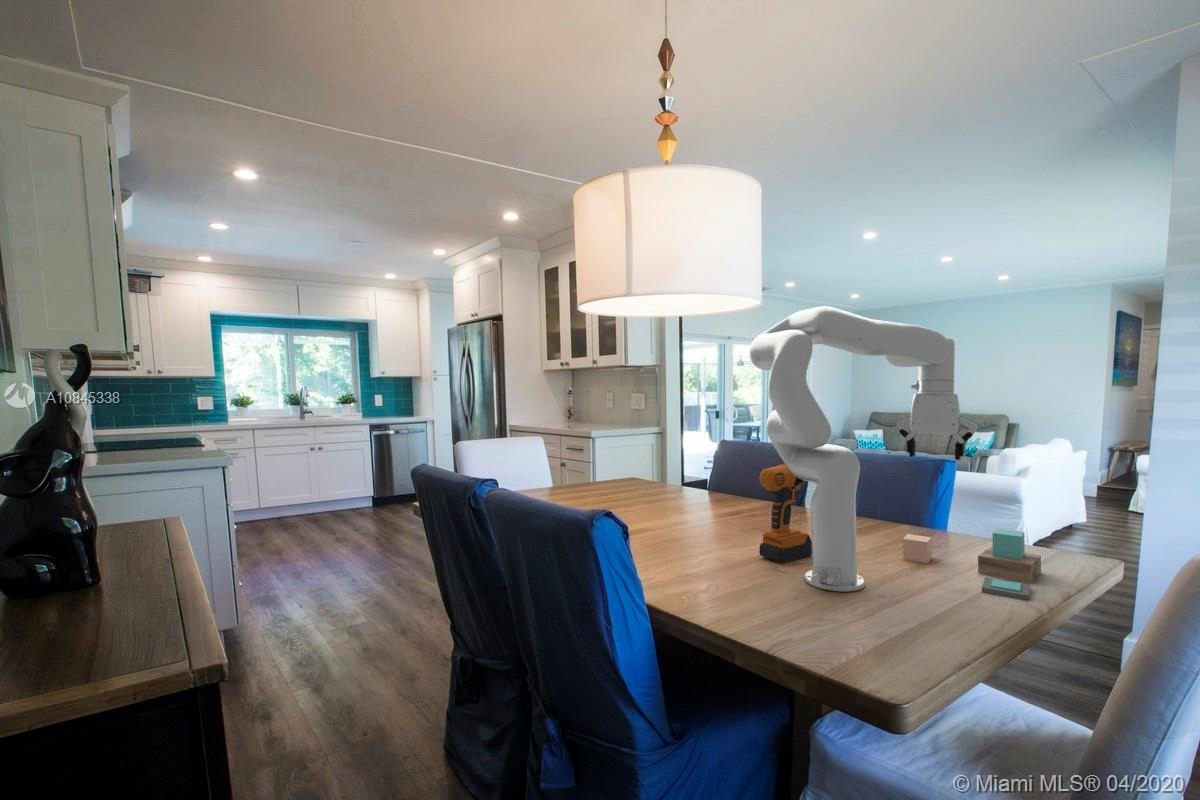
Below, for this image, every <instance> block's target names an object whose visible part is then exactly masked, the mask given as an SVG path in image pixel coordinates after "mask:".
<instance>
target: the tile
mask: <svg viewBox="0 0 1200 800" xmlns="http://www.w3.org/2000/svg"><path fill="white" fill-rule="evenodd" d="M981 585H982V586H981V593H985V594H991V595H997V596H1001V597H1002V596H1003V597H1006V598H1007V597H1008V598H1015V599H1021V600H1026V601H1030V593H1031V584H1030V583H1025V582H1020V581H1014V580H1006V579H998V578H994V577H987V576H985V577H984V579H983V582H982V584H981Z"/></svg>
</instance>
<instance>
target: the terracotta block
mask: <svg viewBox="0 0 1200 800" xmlns="http://www.w3.org/2000/svg"><path fill="white" fill-rule="evenodd" d="M932 547H933V546H932V537H931V536H923V535H917V534H908V533H907V534H906V535H905V536H904V537H903V538H902V551H903V552H902V554H903V555H902V558H903V561H909V562H914V563H915V562H916V563H921V564H929V563H930V561H931V560H932V558H933V556H932V555H933V554H932V552H933V551H932V549H933V548H932Z"/></svg>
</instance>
